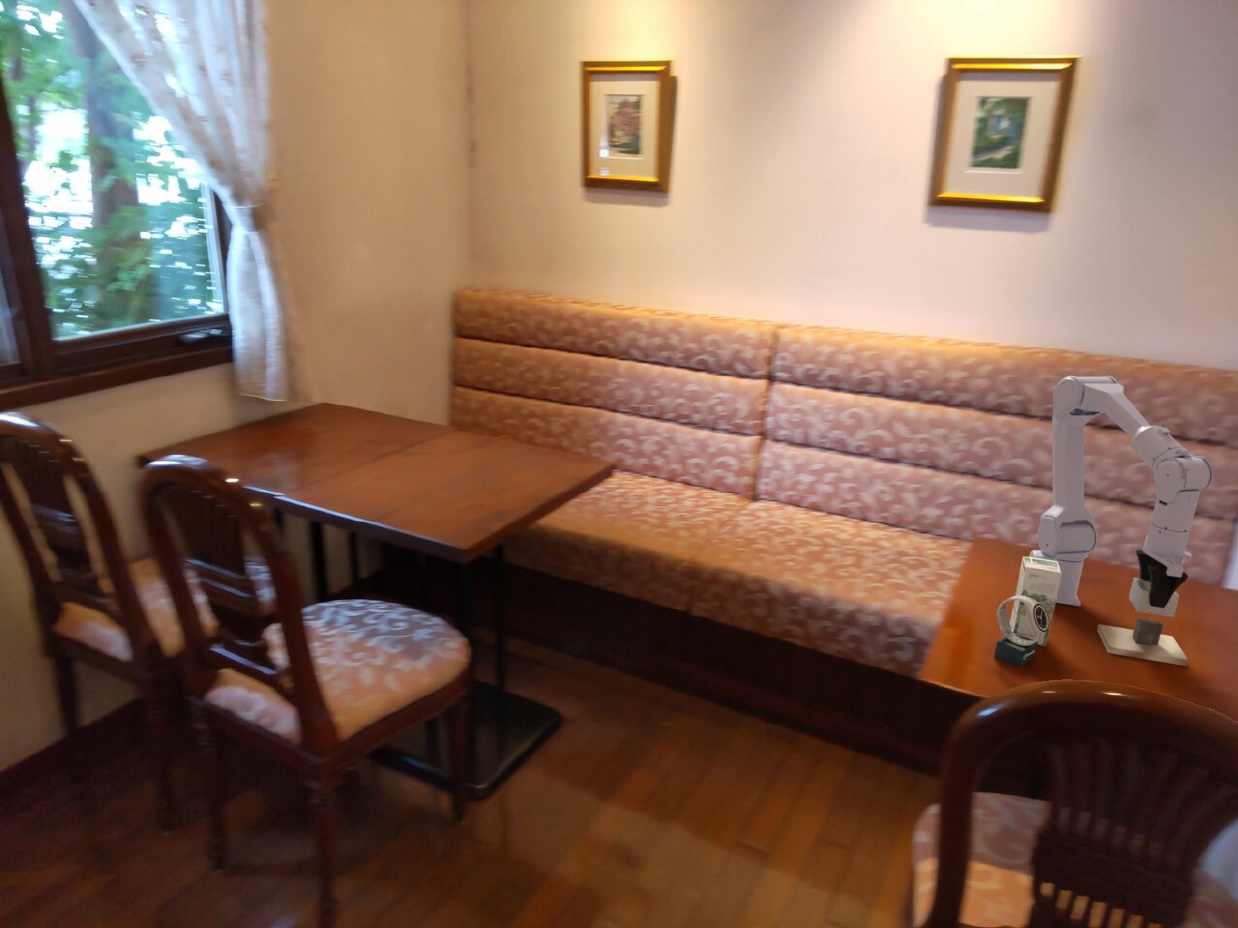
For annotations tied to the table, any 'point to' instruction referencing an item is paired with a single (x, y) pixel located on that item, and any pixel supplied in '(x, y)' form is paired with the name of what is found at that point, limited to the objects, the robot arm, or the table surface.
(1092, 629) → the table surface
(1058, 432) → the robot arm
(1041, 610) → the watch
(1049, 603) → the syrup box
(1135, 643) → the keyed post base
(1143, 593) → the grey slotted channel block
